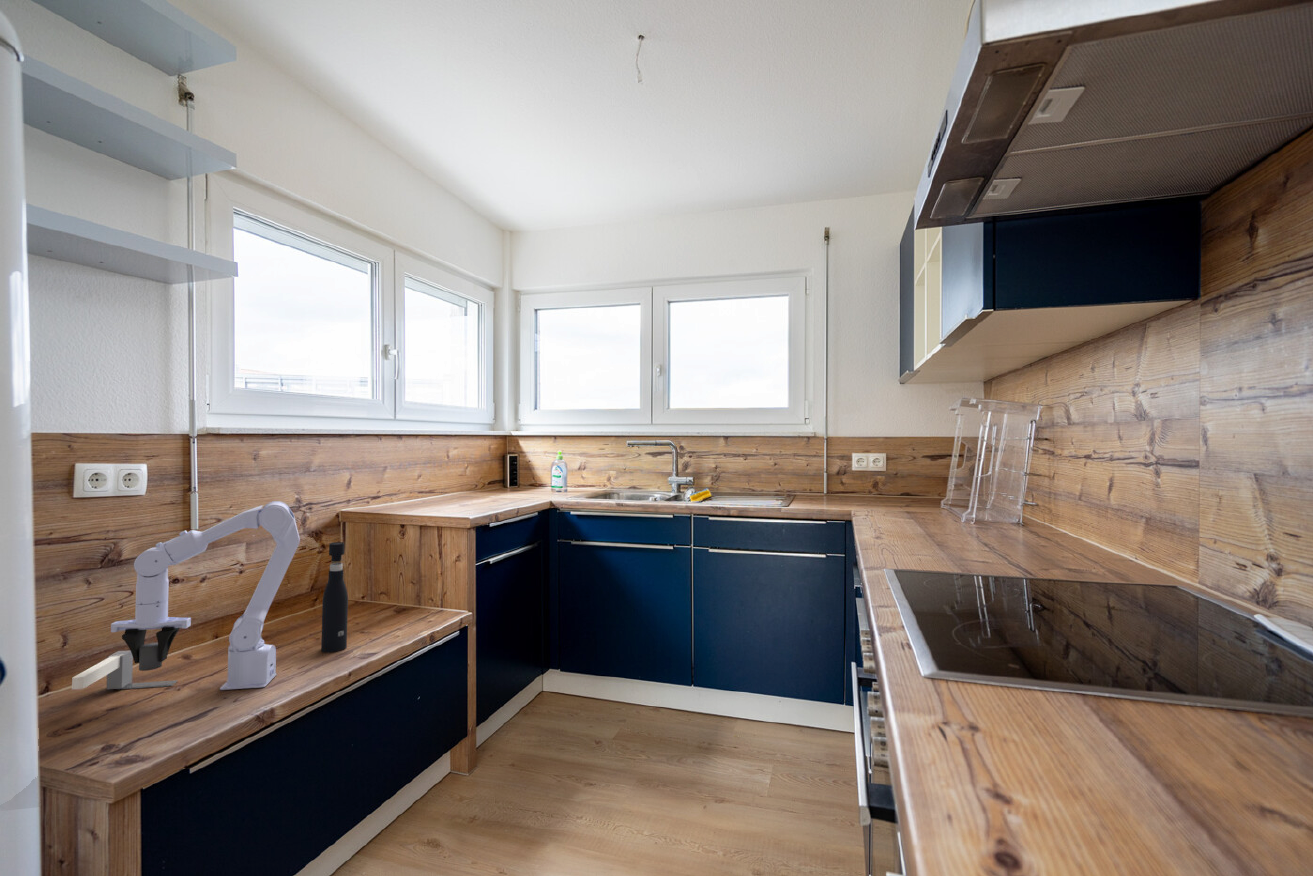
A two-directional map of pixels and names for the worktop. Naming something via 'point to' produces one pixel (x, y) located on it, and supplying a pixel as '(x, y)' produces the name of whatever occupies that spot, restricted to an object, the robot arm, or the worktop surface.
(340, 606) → the black water bottle
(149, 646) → the plug
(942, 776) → the worktop surface
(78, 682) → the tie bar
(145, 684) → the rail
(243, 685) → the robot arm
